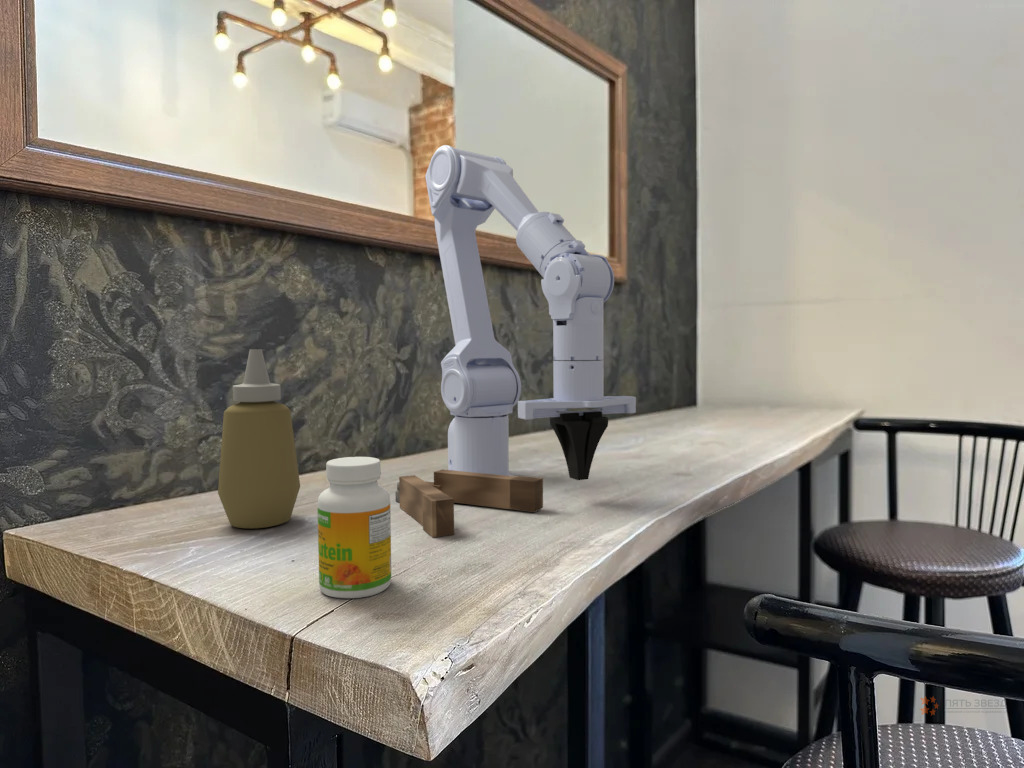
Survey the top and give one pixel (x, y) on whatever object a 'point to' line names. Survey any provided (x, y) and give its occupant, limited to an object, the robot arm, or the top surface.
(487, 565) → the top surface
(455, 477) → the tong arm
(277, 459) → the squeeze bottle
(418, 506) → the brown wooden block
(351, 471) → the supplement bottle
